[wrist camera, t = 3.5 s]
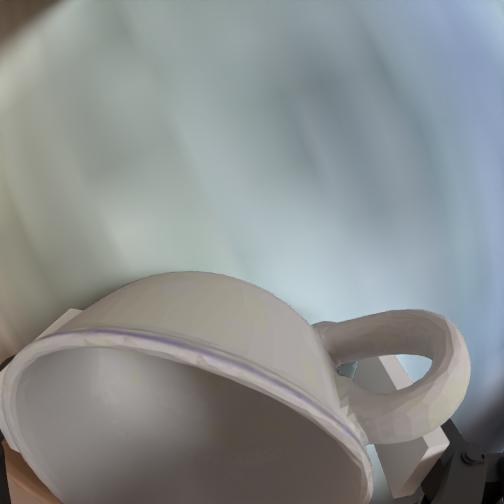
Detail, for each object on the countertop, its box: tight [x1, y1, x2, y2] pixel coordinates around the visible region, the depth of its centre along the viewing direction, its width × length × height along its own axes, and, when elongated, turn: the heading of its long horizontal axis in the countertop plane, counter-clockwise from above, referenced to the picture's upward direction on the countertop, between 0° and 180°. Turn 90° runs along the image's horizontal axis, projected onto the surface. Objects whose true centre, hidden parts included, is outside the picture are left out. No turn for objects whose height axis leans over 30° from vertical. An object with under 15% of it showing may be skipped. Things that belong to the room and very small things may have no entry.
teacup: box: [1, 271, 471, 504], centre depth 9 cm, size 14×11×8 cm
